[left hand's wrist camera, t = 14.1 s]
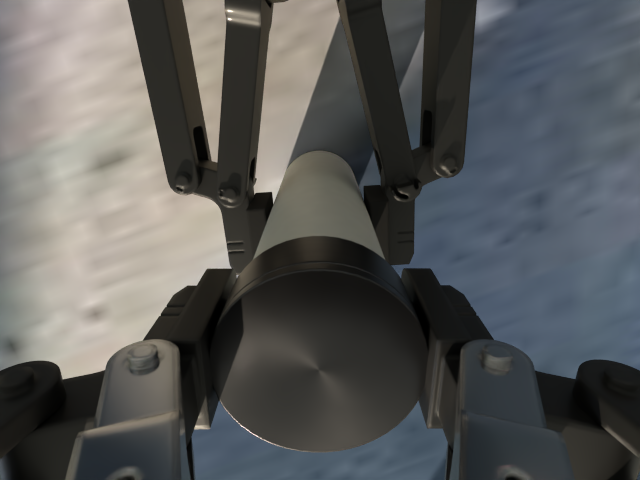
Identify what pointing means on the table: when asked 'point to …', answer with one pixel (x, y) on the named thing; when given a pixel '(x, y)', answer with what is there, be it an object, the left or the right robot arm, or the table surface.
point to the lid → (318, 346)
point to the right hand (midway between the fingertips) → (326, 325)
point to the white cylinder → (319, 204)
